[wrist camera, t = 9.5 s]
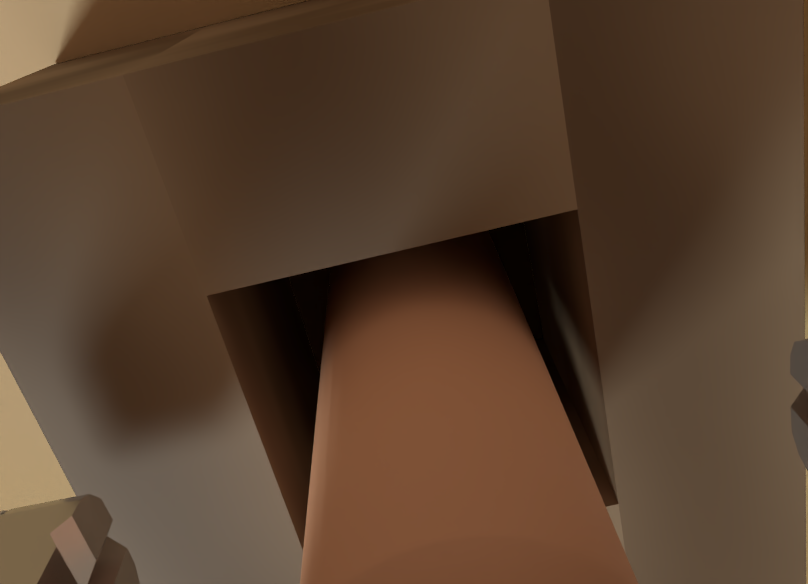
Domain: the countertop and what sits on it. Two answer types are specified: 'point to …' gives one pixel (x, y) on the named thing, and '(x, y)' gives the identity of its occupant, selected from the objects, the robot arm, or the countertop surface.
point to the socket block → (407, 228)
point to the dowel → (445, 435)
